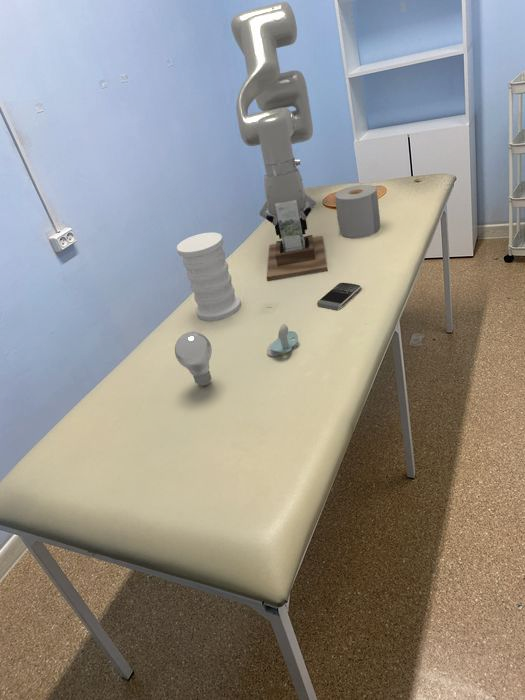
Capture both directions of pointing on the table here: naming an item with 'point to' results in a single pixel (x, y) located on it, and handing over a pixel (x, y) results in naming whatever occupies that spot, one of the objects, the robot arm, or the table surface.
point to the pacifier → (283, 342)
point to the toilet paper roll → (358, 211)
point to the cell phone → (338, 296)
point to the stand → (296, 259)
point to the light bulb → (195, 356)
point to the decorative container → (209, 276)
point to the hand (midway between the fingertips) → (292, 234)
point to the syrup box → (290, 226)
